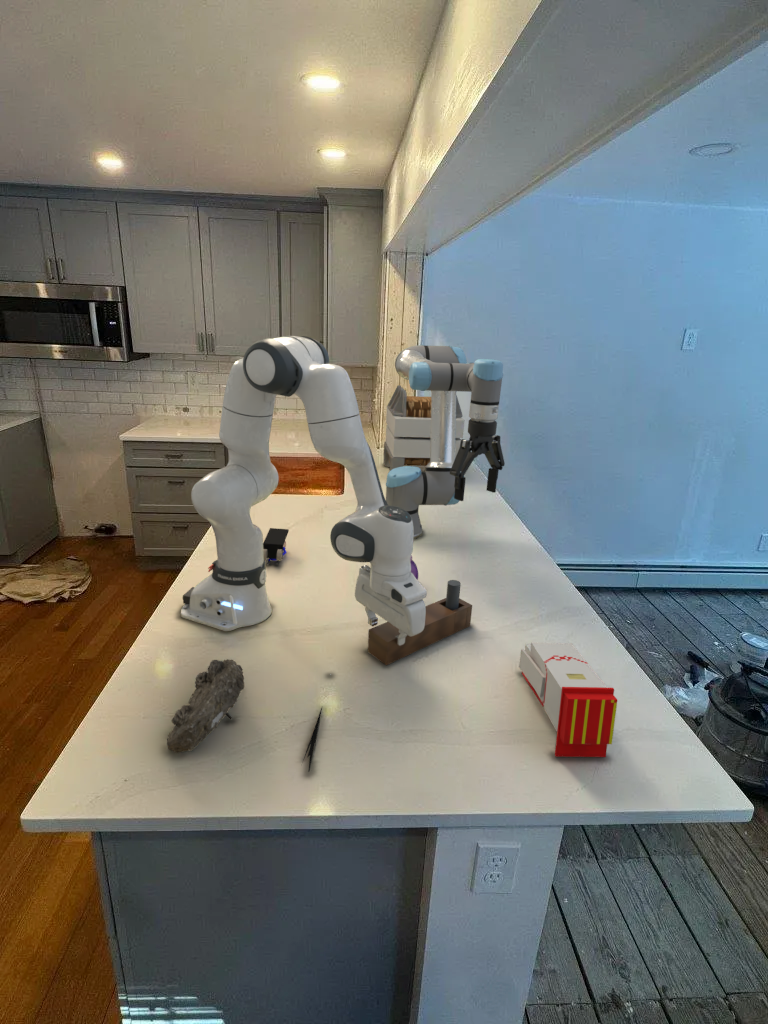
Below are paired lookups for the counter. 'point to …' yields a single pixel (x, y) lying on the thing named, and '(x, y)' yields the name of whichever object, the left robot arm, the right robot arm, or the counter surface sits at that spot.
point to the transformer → (412, 430)
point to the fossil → (206, 705)
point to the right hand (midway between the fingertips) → (475, 495)
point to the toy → (570, 698)
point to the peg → (453, 594)
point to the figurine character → (275, 545)
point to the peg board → (436, 628)
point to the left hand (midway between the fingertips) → (385, 633)
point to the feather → (313, 740)
